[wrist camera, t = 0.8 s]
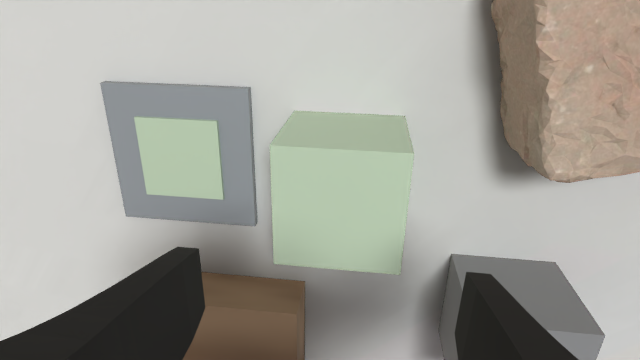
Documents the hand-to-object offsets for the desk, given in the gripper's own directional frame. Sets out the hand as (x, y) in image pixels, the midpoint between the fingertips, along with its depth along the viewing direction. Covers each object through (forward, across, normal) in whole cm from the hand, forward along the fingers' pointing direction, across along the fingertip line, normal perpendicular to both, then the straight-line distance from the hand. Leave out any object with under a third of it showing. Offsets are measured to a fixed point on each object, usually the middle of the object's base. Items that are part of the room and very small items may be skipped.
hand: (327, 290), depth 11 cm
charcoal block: (+10, -8, +7) cm, 14 cm away
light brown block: (+10, +6, +11) cm, 16 cm away
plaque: (+9, +8, 0) cm, 12 cm away
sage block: (+10, 0, 0) cm, 10 cm away
